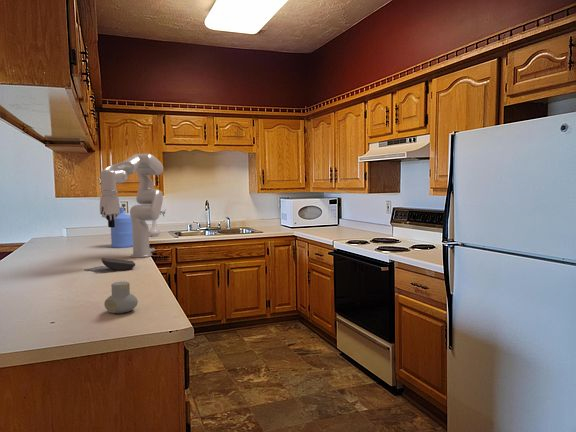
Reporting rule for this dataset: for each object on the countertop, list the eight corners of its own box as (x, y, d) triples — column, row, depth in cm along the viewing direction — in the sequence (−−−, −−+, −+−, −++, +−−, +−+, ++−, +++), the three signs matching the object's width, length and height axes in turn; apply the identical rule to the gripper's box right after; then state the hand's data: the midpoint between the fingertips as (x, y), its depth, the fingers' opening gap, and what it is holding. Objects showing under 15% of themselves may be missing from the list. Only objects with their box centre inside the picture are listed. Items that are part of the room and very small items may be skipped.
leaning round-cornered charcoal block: (99, 265, 229) (101, 269, 221) (101, 257, 229) (102, 260, 221) (132, 269, 236) (134, 272, 228) (133, 260, 236) (136, 263, 228)
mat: (101, 266, 238) (101, 265, 237) (122, 269, 230) (122, 268, 230) (84, 270, 228) (84, 269, 228) (105, 272, 220) (105, 272, 220)
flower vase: (168, 236, 375) (167, 206, 373) (145, 237, 366) (144, 207, 364) (164, 234, 386) (163, 206, 384) (142, 236, 377) (141, 206, 376)
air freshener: (101, 311, 153) (100, 283, 152) (122, 306, 160) (121, 279, 159) (120, 316, 147) (119, 287, 146) (141, 310, 154) (140, 282, 153)
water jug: (127, 248, 305) (126, 208, 303) (106, 248, 308) (105, 208, 306) (138, 245, 321) (137, 206, 319) (118, 244, 323) (117, 206, 321)
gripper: (115, 192, 244) (117, 225, 246) (92, 194, 231) (95, 228, 233) (125, 192, 241) (127, 225, 243) (102, 194, 227) (105, 229, 230)
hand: (111, 227), depth 238 cm, fingers closed
